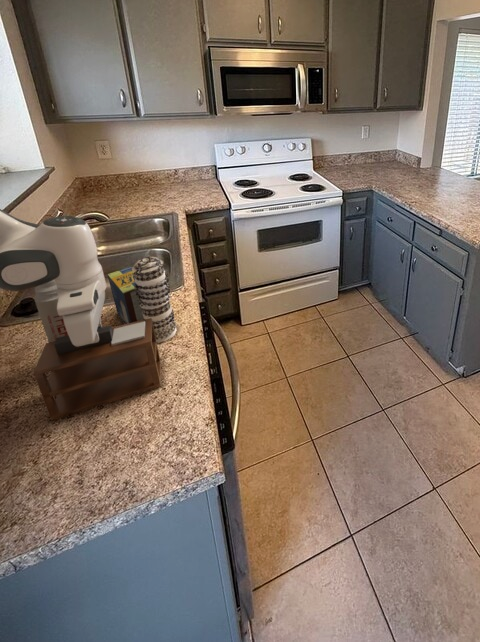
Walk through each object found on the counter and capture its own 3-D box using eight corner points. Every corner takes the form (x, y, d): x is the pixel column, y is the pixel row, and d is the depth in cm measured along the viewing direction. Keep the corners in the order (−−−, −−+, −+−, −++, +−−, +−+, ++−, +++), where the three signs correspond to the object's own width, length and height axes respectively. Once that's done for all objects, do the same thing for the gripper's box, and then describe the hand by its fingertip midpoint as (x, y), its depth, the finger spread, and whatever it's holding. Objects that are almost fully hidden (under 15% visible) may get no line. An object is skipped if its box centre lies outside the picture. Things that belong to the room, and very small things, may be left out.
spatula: (55, 360, 79) (51, 349, 78) (61, 343, 85) (58, 333, 84) (144, 337, 86) (142, 327, 85) (145, 323, 91) (143, 313, 90)
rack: (51, 420, 81) (33, 372, 76) (61, 388, 90) (45, 343, 85) (160, 386, 90) (150, 341, 85) (160, 360, 98) (151, 317, 94)
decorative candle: (182, 334, 108) (168, 261, 100) (149, 348, 103) (132, 272, 94) (173, 320, 115) (160, 250, 107) (142, 331, 110) (125, 259, 101)
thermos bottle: (90, 367, 96) (63, 276, 87) (54, 377, 93) (22, 284, 84) (94, 348, 103) (69, 262, 94) (61, 357, 100) (32, 269, 90)
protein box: (149, 301, 125) (141, 262, 119) (167, 321, 114) (159, 279, 109) (116, 315, 118) (106, 273, 113) (133, 337, 108) (122, 292, 102)
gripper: (75, 267, 87) (88, 315, 92) (54, 314, 70) (72, 369, 75) (104, 262, 90) (116, 308, 95) (91, 306, 72) (106, 360, 77)
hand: (96, 336), depth 84 cm, fingers closed on spatula, 2 cm apart
